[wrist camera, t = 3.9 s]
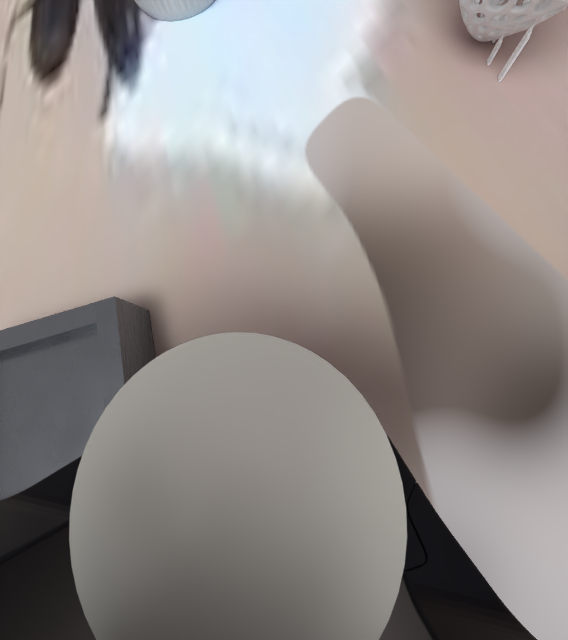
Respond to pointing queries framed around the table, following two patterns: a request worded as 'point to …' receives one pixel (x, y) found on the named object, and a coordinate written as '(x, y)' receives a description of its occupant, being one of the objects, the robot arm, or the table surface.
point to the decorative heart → (506, 21)
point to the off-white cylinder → (238, 501)
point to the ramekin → (173, 8)
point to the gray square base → (63, 384)
